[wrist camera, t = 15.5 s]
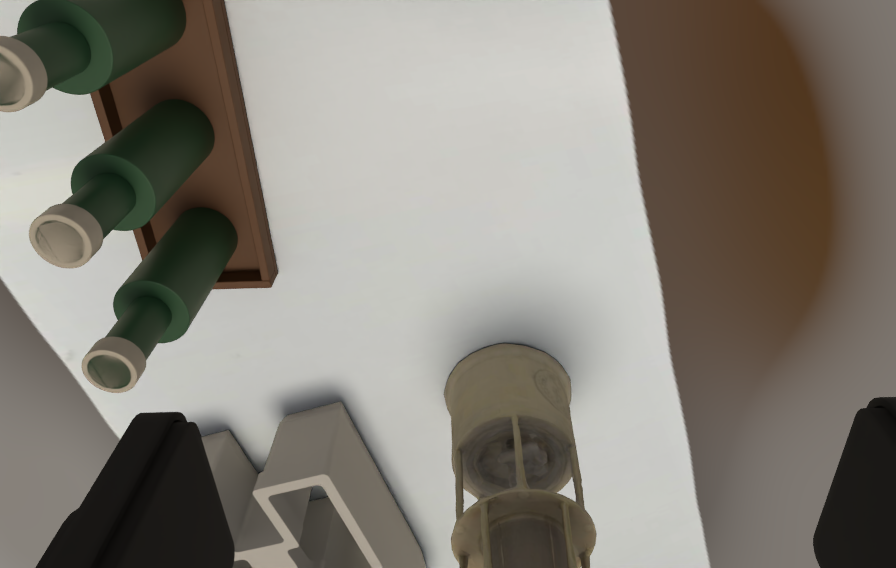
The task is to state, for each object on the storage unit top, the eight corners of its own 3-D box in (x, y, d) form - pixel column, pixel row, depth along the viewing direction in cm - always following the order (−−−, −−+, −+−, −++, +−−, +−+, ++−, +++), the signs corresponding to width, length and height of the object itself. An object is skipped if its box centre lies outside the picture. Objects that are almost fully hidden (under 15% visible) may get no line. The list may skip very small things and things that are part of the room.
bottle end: (162, 224, 48) (46, 358, 35) (210, 196, 47) (110, 323, 33) (203, 271, 50) (108, 416, 36) (250, 246, 49) (170, 385, 35)
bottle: (95, -4, 40) (-86, 56, 27) (151, -44, 39) (-9, -3, 26) (146, 63, 42) (1, 149, 29) (201, 26, 41) (76, 99, 28)
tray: (63, -55, 39) (44, -52, 38) (211, -62, 39) (199, -60, 37) (162, 276, 51) (151, 291, 49) (278, 273, 50) (271, 287, 49)
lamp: (567, 336, 53) (668, 771, 27) (575, 457, 59) (661, 899, 34) (435, 349, 54) (412, 783, 28) (457, 467, 60) (454, 906, 35)
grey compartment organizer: (344, 394, 56) (326, 473, 49) (452, 595, 70) (451, 681, 62) (168, 439, 59) (126, 520, 52) (304, 623, 73) (286, 709, 65)
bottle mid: (132, 119, 44) (-11, 225, 31) (184, 86, 43) (59, 180, 30) (177, 175, 46) (61, 297, 33) (228, 144, 45) (129, 258, 31)
